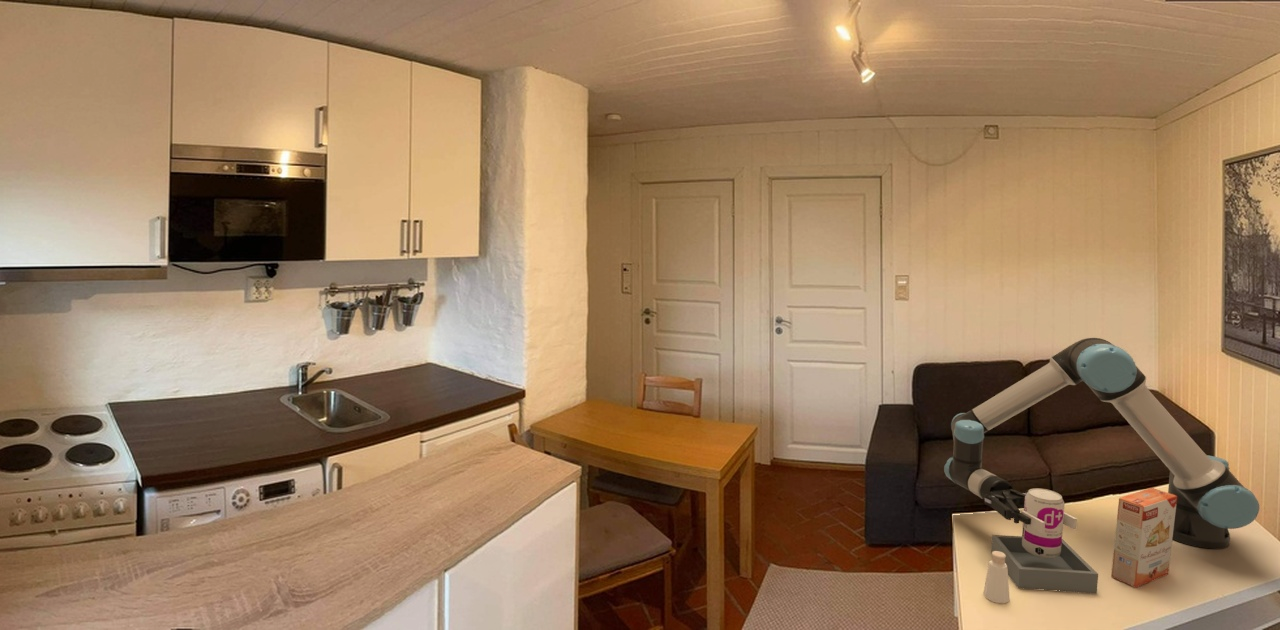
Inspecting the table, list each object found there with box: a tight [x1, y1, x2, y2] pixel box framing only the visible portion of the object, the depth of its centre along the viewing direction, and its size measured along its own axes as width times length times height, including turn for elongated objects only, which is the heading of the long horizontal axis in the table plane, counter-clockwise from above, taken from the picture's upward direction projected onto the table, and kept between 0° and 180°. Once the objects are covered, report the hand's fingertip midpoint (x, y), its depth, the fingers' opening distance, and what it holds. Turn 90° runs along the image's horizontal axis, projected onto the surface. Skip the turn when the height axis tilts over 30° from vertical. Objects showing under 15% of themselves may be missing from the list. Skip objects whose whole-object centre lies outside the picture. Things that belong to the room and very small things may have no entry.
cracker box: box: [1111, 487, 1177, 588], centre depth 151 cm, size 14×6×21 cm, turn 114°
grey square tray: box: [990, 534, 1099, 595], centre depth 155 cm, size 17×17×5 cm
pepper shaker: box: [983, 551, 1011, 605], centre depth 145 cm, size 5×5×11 cm
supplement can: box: [1021, 488, 1065, 558], centre depth 154 cm, size 8×8×15 cm
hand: (1059, 525), depth 149 cm, fingers closed on supplement can, 8 cm apart
